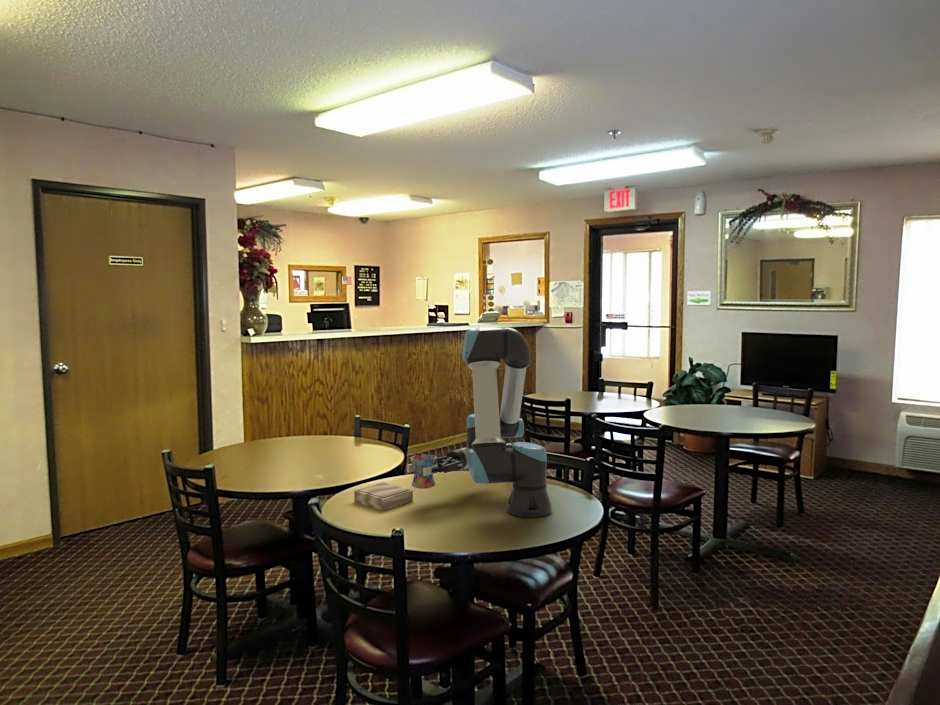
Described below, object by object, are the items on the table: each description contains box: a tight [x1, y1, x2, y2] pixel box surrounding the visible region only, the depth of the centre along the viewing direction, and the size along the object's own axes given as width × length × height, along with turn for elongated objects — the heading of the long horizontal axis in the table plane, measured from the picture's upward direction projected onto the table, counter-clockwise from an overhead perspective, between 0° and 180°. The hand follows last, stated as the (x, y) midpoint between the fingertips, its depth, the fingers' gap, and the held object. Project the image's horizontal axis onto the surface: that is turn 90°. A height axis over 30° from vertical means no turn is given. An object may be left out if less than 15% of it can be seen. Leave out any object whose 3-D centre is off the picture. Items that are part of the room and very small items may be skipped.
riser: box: [353, 481, 414, 511], centre depth 234 cm, size 16×14×4 cm
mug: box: [409, 454, 438, 490], centre depth 229 cm, size 12×9×11 cm
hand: (415, 470), depth 226 cm, fingers closed on mug, 7 cm apart
